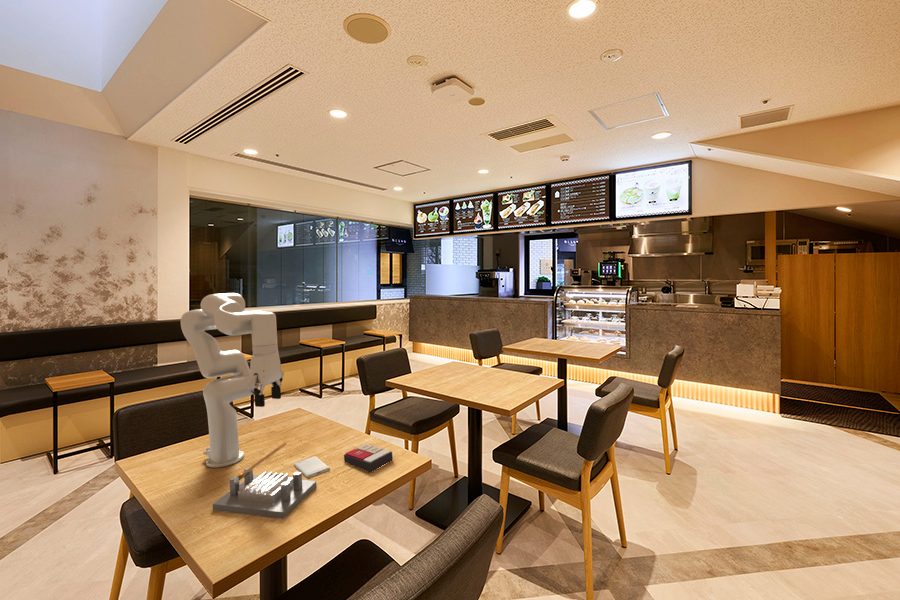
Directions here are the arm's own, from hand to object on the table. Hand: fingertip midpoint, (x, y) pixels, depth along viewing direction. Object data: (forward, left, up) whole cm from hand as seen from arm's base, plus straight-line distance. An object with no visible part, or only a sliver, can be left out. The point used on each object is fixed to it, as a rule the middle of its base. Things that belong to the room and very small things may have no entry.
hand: (268, 402), depth 127 cm
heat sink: (+4, -8, -26) cm, 27 cm away
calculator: (+25, +20, -29) cm, 43 cm away
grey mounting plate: (+4, -8, -28) cm, 29 cm away
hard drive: (+7, +12, -29) cm, 32 cm away
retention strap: (+3, -8, -17) cm, 19 cm away
